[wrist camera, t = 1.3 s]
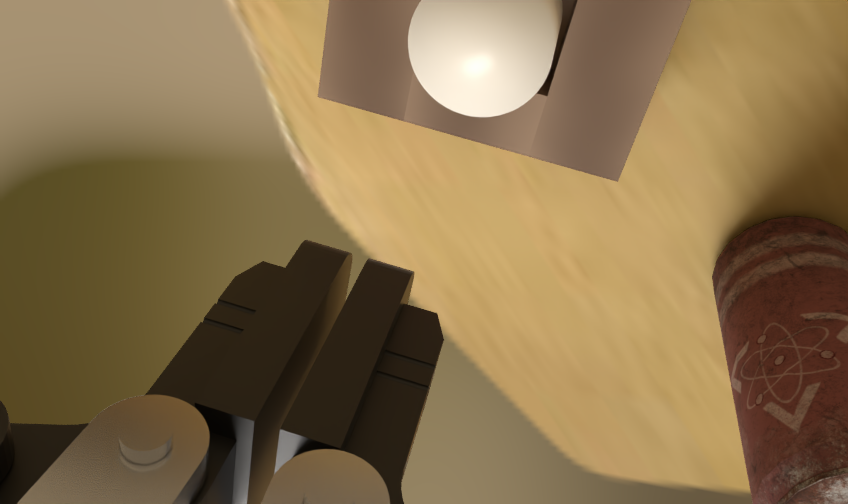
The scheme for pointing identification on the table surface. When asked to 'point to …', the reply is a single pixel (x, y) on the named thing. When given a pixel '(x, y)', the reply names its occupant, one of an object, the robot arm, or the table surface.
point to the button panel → (548, 109)
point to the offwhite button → (483, 51)
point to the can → (788, 356)
